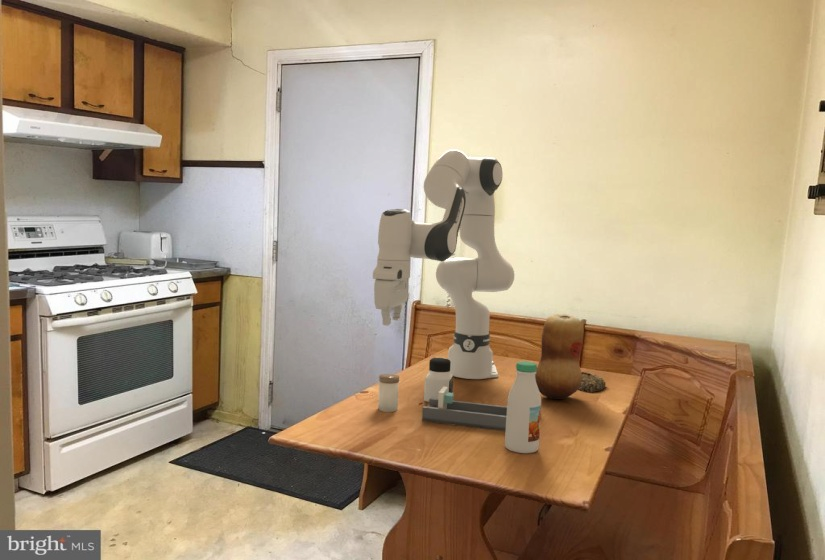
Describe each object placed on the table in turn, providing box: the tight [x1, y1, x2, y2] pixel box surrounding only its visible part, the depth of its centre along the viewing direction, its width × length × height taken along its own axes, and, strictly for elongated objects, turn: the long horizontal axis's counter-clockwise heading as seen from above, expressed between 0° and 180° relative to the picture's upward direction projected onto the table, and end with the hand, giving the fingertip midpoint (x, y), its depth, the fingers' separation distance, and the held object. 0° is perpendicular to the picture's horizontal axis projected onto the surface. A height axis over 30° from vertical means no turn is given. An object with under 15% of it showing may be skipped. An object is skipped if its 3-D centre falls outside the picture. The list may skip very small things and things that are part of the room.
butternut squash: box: [535, 313, 585, 400], centre depth 189 cm, size 14×13×25 cm
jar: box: [377, 373, 400, 413], centre depth 173 cm, size 5×5×9 cm
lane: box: [421, 398, 507, 432], centre depth 165 cm, size 9×24×8 cm, turn 76°
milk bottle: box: [504, 360, 542, 454], centre depth 147 cm, size 8×8×20 cm
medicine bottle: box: [423, 356, 454, 403], centre depth 183 cm, size 7×7×12 cm
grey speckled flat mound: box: [577, 371, 607, 393], centre depth 206 cm, size 13×12×5 cm
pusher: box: [438, 387, 455, 409], centre depth 167 cm, size 6×3×6 cm, turn 166°
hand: (391, 322), depth 171 cm, fingers open, 8 cm apart
